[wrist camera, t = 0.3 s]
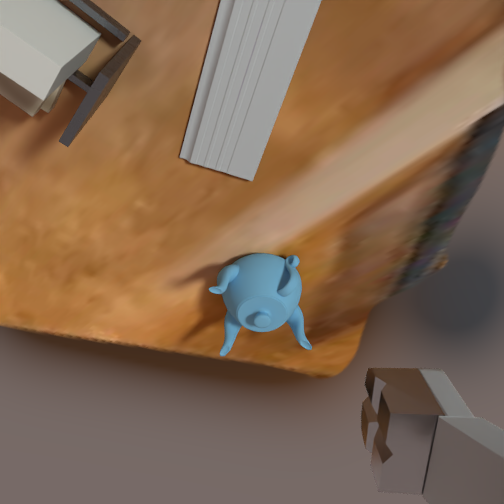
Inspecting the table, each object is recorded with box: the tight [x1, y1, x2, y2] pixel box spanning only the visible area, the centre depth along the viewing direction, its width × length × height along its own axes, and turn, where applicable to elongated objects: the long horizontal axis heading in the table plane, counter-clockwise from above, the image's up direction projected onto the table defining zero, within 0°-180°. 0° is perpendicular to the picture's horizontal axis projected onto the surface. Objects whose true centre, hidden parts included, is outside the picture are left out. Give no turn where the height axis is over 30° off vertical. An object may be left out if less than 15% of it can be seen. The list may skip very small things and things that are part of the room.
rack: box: [59, 0, 141, 147], centre depth 46 cm, size 9×18×15 cm, turn 51°
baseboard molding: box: [180, 0, 321, 181], centre depth 54 cm, size 31×3×12 cm
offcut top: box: [0, 72, 47, 117], centre depth 52 cm, size 4×9×2 cm, turn 48°
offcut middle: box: [41, 80, 66, 113], centre depth 54 cm, size 4×10×2 cm, turn 55°
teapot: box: [209, 253, 312, 356], centre depth 72 cm, size 15×15×10 cm
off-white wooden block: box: [0, 0, 101, 101], centre depth 46 cm, size 4×12×14 cm, turn 51°
